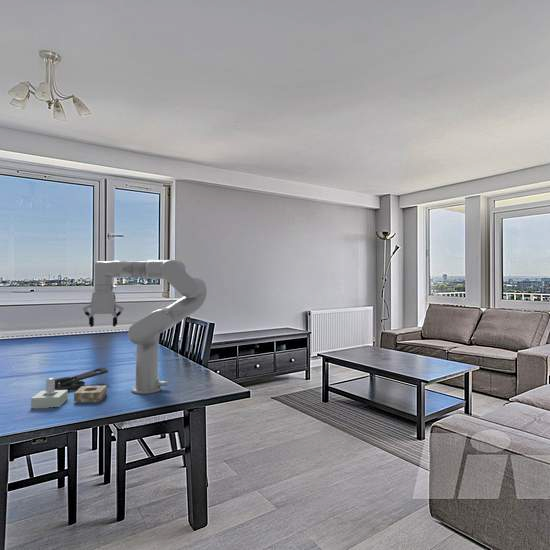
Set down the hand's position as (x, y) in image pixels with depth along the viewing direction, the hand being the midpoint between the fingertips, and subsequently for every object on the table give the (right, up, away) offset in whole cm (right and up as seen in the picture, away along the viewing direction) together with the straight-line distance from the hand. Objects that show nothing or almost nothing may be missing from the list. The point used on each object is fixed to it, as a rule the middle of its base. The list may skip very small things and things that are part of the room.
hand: (103, 326), depth 184 cm
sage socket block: (-12, -28, -22) cm, 38 cm away
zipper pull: (-12, -28, +2) cm, 31 cm away
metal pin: (-12, -28, -22) cm, 38 cm away
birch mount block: (+1, -28, -15) cm, 32 cm away
